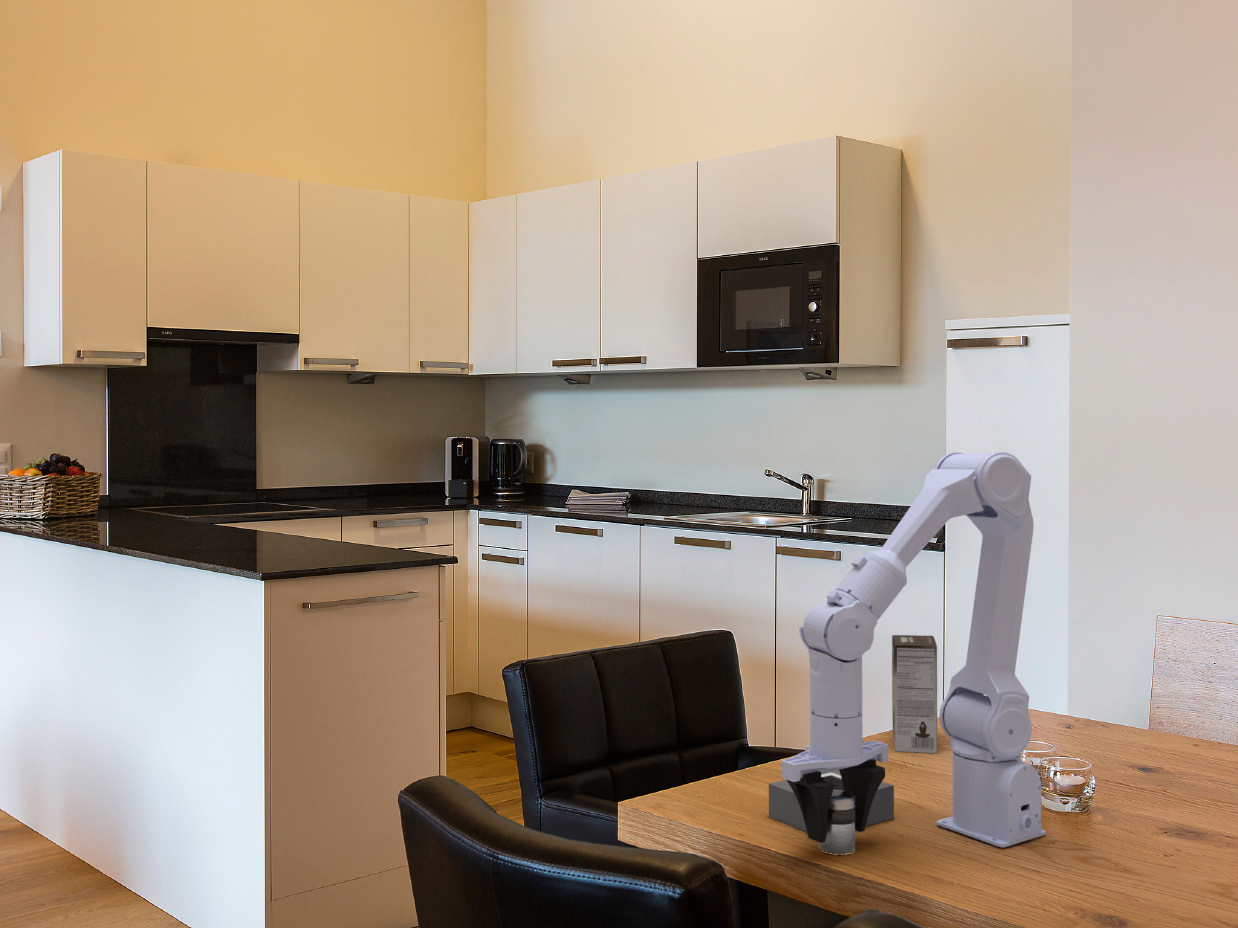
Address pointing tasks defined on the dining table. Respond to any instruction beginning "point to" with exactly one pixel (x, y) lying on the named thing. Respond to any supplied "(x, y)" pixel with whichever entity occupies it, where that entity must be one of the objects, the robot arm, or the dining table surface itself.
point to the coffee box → (914, 693)
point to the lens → (840, 824)
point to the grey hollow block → (788, 807)
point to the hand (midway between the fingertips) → (836, 834)
